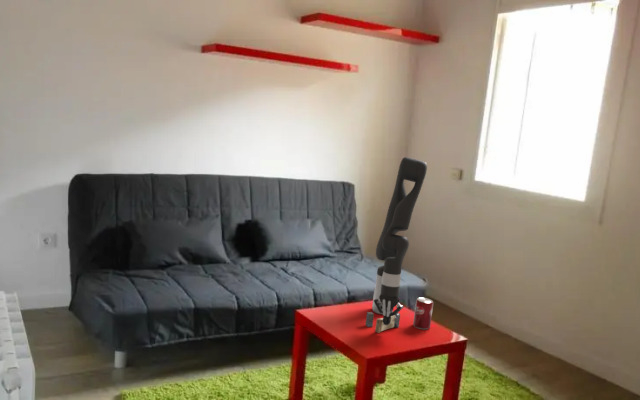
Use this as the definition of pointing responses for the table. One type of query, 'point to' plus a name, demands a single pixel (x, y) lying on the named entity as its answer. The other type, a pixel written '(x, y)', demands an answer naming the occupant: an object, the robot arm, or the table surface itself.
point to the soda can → (423, 313)
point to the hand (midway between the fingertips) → (386, 324)
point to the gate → (381, 326)
